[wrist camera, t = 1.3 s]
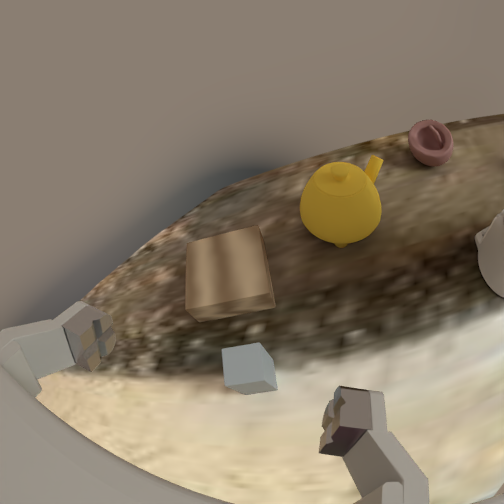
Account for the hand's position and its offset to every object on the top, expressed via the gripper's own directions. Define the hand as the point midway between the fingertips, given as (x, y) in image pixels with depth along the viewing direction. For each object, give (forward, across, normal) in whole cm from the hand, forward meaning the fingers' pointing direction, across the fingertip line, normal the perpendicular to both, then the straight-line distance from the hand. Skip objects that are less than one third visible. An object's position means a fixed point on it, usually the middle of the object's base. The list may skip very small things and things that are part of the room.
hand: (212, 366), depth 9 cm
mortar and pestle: (+66, -30, -11) cm, 73 cm away
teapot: (+50, -10, +6) cm, 52 cm away
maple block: (+38, +9, +20) cm, 44 cm away
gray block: (+24, 0, +27) cm, 36 cm away
